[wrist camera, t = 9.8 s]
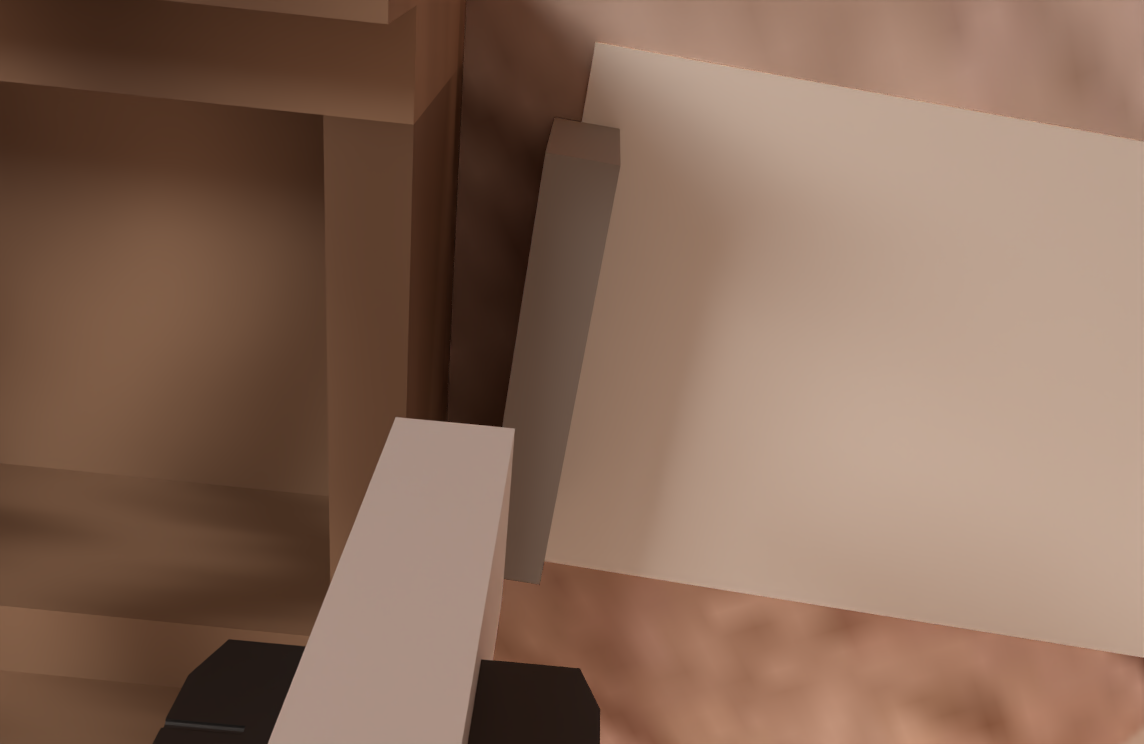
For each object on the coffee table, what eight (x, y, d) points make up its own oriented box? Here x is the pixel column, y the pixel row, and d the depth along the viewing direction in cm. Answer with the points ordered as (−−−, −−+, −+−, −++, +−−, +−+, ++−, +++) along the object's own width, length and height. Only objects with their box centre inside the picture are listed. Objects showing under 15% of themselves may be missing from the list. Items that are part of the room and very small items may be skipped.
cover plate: (491, 520, 23) (469, 629, 20) (570, 28, 18) (560, 61, 15) (1245, 643, 24) (1349, 768, 21) (1517, 200, 19) (1711, 270, 16)
